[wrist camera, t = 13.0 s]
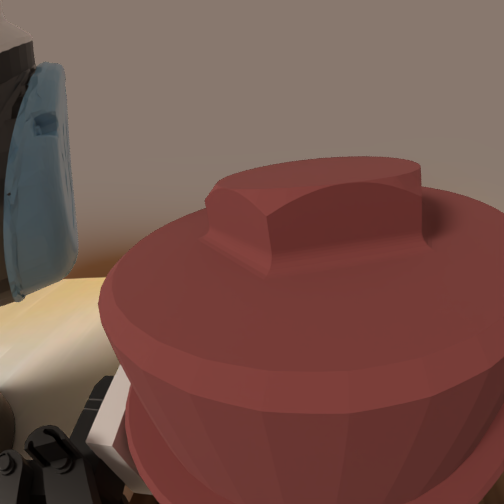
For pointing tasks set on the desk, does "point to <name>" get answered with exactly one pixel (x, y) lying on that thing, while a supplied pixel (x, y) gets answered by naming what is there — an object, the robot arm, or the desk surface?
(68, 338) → the desk surface
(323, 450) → the mechanical component
